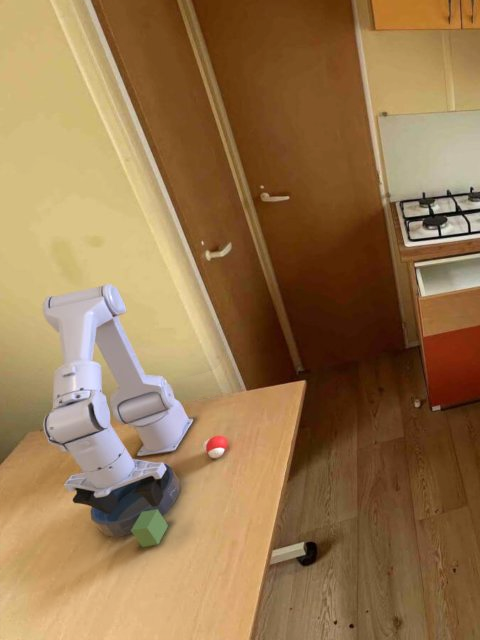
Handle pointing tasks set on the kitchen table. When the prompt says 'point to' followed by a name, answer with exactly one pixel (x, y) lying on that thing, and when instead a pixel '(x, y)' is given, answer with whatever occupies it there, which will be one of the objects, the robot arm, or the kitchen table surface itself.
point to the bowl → (134, 506)
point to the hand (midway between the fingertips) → (135, 505)
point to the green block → (149, 528)
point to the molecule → (215, 446)
